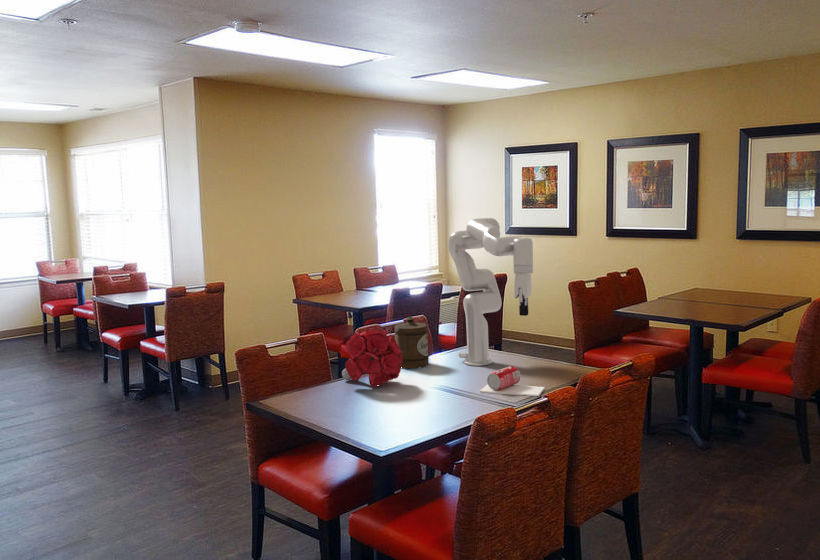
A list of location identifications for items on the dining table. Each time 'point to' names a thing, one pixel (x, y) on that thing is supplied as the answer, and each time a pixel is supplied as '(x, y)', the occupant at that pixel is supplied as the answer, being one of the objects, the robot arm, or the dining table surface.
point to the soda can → (503, 378)
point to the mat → (516, 390)
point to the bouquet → (373, 357)
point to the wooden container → (412, 343)
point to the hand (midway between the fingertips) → (523, 315)
